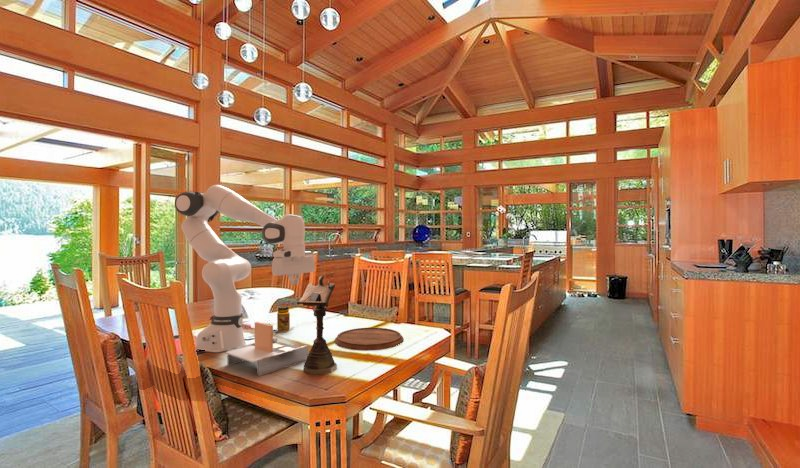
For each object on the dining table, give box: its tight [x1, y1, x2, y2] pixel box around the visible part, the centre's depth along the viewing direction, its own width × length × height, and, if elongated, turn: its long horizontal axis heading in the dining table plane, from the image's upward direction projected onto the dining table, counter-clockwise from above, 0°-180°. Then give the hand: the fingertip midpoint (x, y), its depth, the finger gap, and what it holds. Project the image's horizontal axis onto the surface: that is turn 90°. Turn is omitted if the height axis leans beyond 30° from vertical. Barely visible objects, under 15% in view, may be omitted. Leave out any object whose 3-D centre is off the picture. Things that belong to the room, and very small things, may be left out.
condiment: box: [275, 305, 293, 333], centre depth 206 cm, size 7×8×12 cm
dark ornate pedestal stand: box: [295, 274, 338, 375], centre depth 146 cm, size 17×13×35 cm
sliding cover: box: [225, 321, 278, 364], centre depth 151 cm, size 11×18×11 cm, turn 53°
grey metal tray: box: [226, 337, 309, 377], centre depth 156 cm, size 22×21×6 cm
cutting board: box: [334, 327, 404, 351], centre depth 187 cm, size 32×32×3 cm
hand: (294, 284), depth 172 cm, fingers closed
